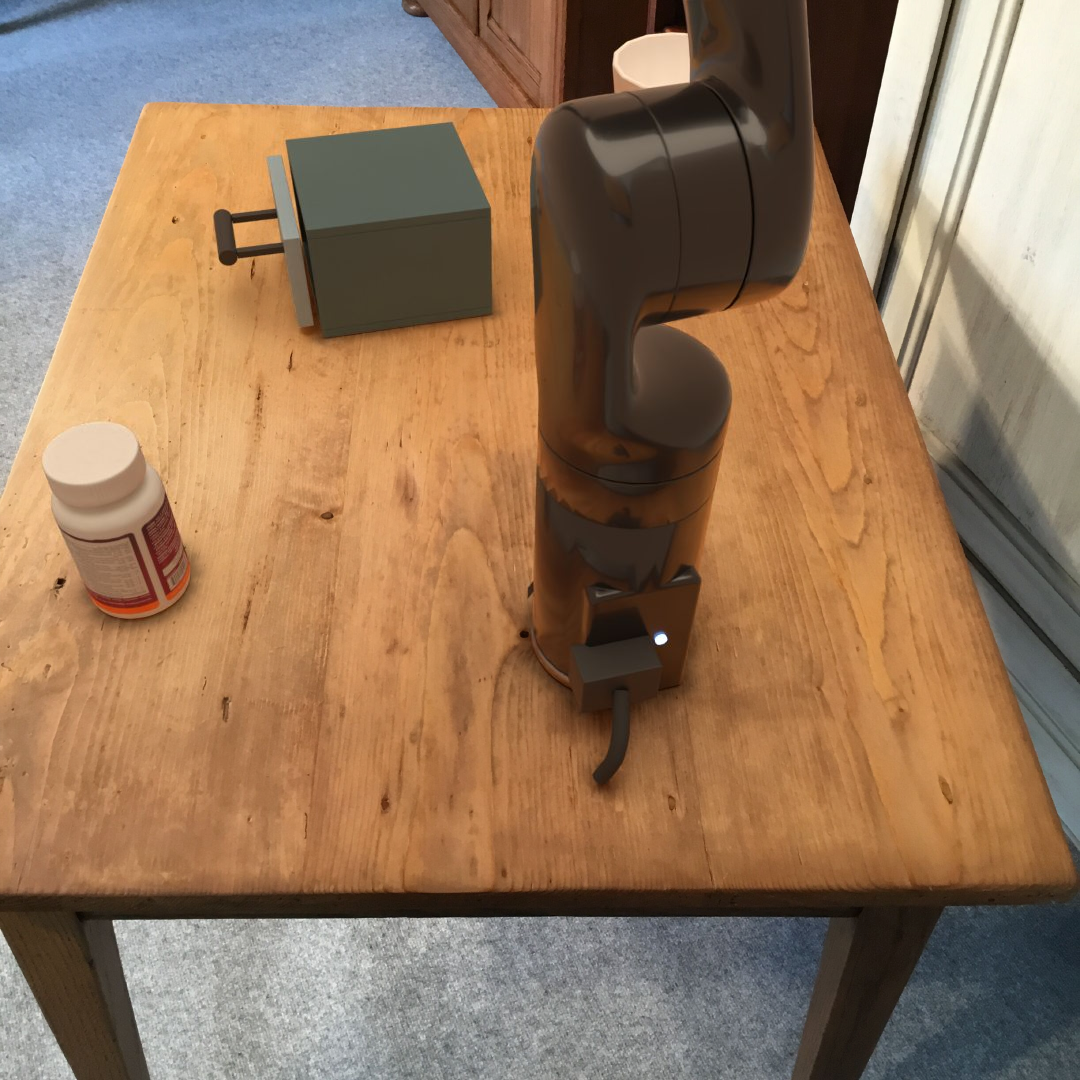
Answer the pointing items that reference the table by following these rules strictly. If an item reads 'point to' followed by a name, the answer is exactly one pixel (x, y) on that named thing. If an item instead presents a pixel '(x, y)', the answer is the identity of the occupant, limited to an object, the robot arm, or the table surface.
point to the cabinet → (392, 228)
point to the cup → (652, 62)
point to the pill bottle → (116, 520)
